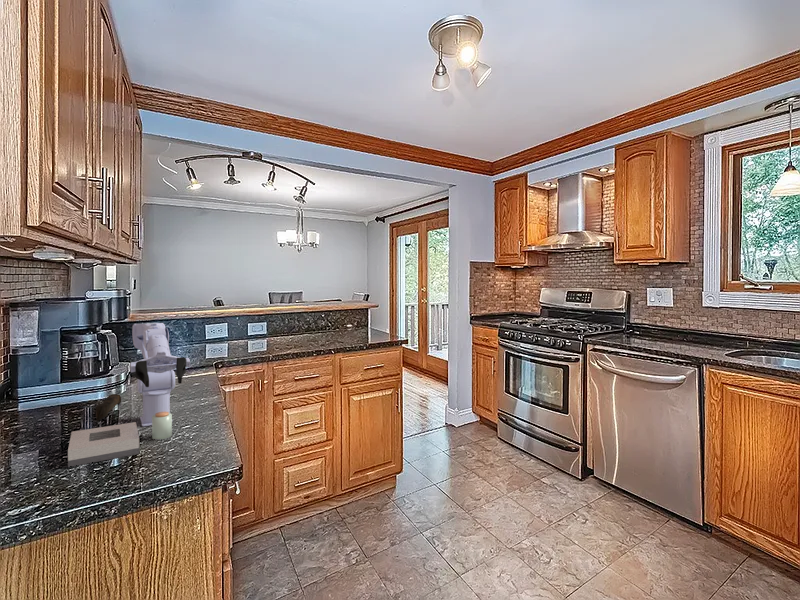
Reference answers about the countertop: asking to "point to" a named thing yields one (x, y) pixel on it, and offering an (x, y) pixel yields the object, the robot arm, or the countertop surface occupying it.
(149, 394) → the robot arm
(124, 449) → the beige square slab
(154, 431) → the cylinder with orange cap
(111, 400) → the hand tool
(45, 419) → the countertop surface
